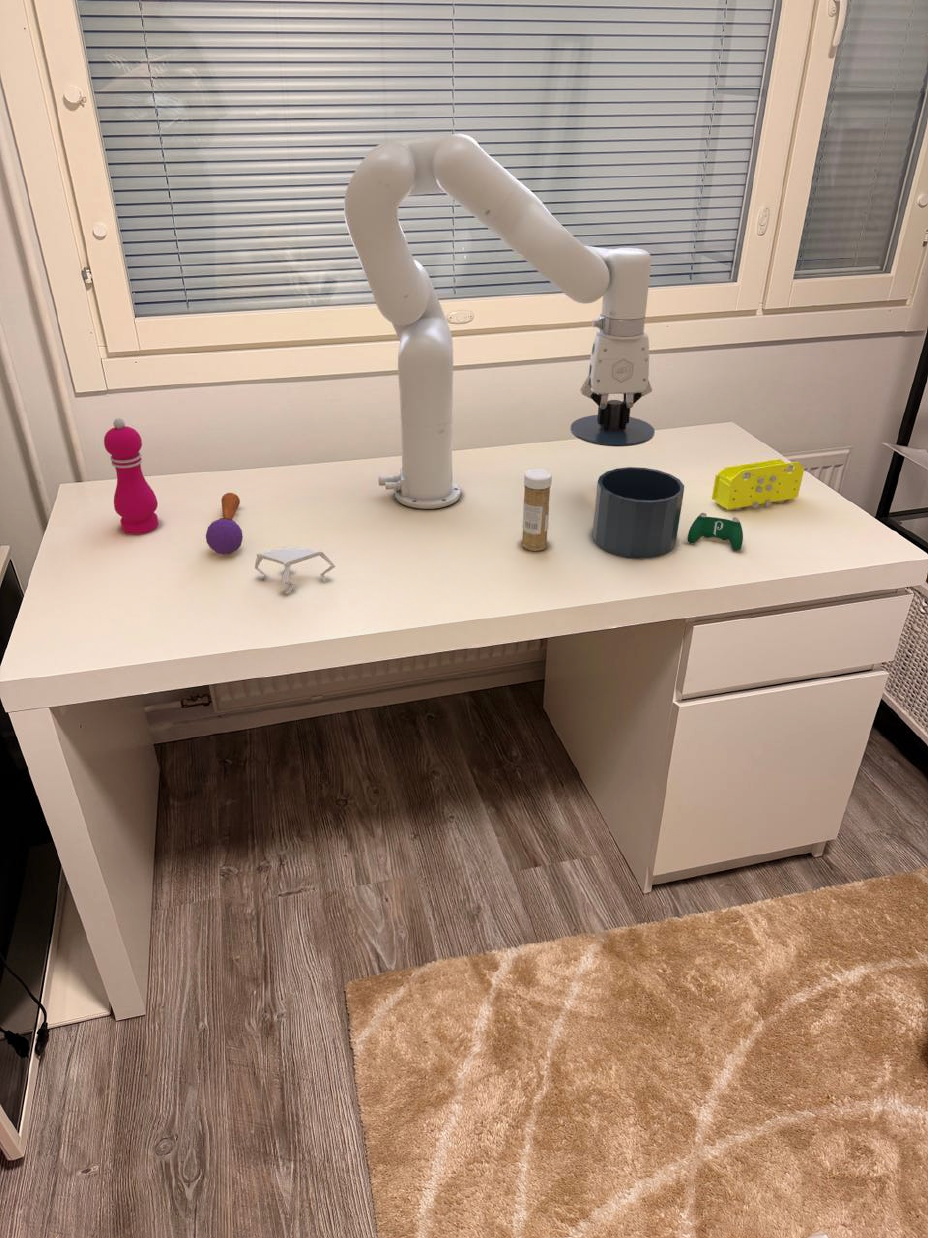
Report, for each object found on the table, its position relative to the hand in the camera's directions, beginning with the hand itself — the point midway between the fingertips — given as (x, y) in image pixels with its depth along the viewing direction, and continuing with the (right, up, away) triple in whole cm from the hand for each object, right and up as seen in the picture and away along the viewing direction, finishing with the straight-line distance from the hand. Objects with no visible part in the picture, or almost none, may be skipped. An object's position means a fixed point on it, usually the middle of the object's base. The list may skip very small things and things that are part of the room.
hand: (612, 426), depth 162 cm
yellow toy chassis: (+28, -13, +6) cm, 32 cm away
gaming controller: (+17, -22, -8) cm, 29 cm away
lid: (0, -1, 0) cm, 1 cm away
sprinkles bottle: (-15, -23, -10) cm, 29 cm away
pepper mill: (-85, -19, -5) cm, 88 cm away
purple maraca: (-69, -21, -7) cm, 72 cm away
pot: (+3, -21, -7) cm, 23 cm away
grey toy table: (-54, -30, -21) cm, 65 cm away
